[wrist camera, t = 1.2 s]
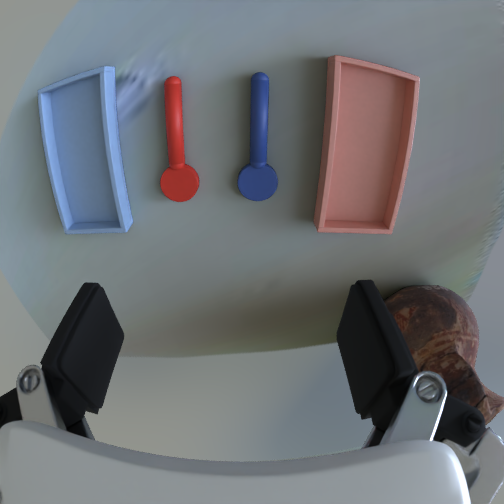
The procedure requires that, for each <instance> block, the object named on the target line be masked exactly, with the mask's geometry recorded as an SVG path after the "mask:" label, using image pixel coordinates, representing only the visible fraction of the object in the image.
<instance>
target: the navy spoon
mask: <svg viewBox="0 0 504 504" xmlns="http://www.w3.org/2000/svg"><path fill="white" fill-rule="evenodd" d="M268 98H269V78H268V76H267V75H266V74H265V73H262V72H258V73H255V74H254V75H253V76H252V78H251V122H250V163H249V164H247V165H246V166H244V167H243V168H242V170H241V171H240V173H239V176H238V188H239V190H240V192H241V193H242V195H243V196H245V197H246V198H248V199H250V200H253V201H262V200H265V199H268V198H269V197H271V196H272V195H273V194H274V192H275V191H276V189H277V185H278V179H277V176H276V173H275V171H274V169H273V168H272V167H271V166H269V165H268V164H266V161H267V132H268Z"/></svg>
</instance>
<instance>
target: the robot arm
mask: <svg viewBox="0 0 504 504" xmlns="http://www.w3.org/2000/svg"><path fill="white" fill-rule="evenodd" d="M123 340H124V333H123V330H122V328H121V326H120V324H119V322H118V320H117V318H116V316H115V314H114V311H113V309H112V307H111V305H110V302H109V300H108V298H107V295H106V293H105V291H104V289H103V287H101V286H100V285H99V284H98V283H87V282H86V283H84V284H83V285H82V287H81V288H80V290H79V292H78V293H77V295H76V297H75V298H74V300H73V302H72V303H71V305H70V307H69V309H68V310H67V312H66V314H65V316H64V317H63V319H62V321H61V323H60V325H59V326H58V328H57V330H56V332H55V334H54V336H53V338H52V340H51V342H50V344H49V346H48V348H47V350H46V352H45V354H44V356H43V358H42V360H41V362H40V363H41V364H42V368H41V369H40V367H39V366H36V365H29V366H26V367H25V368H24V369H23V370H22V371H21V372H20V373H19V375H18V377H17V381H16V388H14V389H13V390H11V391H9V392H8V393H6V394H4V395H3V396H1V397H0V504H490V502H491V501H492V499H493V498H494V496H495V495H496V493H497V491H498V490H499V488H500V487H501V485H502V483H503V482H504V442H503V441H502V440H501V439H500V438H499V436H498V435H497V434H496V433H494V431H493V430H492V429H491V428H490V427H488V428H487V429H486V428H485V418H484V416H483V414H482V413H481V411H480V410H478V409H477V408H475V407H473V406H471V405H469V404H467V403H465V402H463V401H461V400H459V399H457V398H455V397H453V396H451V395H449V394H447V388H446V384H445V382H444V380H443V379H442V378H441V376H440V375H438V374H437V373H435V372H432V371H422V372H419V371H418V368H417V366H416V364H415V361H414V359H413V357H412V354H411V352H410V350H409V348H408V345H407V343H406V341H405V339H404V337H403V335H402V333H401V330H400V328H399V326H398V324H397V322H396V320H395V318H394V316H393V315H392V314H391V313H389V311H388V309H387V307H386V305H385V303H384V301H383V299H382V297H381V295H380V293H379V291H378V289H377V287H376V286H375V284H374V282H373V281H372V280H358V281H356V283H355V285H352V286H351V288H350V291H349V295H348V298H347V302H346V305H345V308H344V312H343V315H342V318H341V321H340V324H339V327H338V330H337V342H338V346H339V349H340V353H341V356H342V360H343V364H344V367H345V371H346V375H347V378H348V382H349V386H350V390H351V394H352V398H353V402H354V406H355V410H356V412H357V413H358V414H361V419H367V418H372V422H373V425H374V426H373V428H372V430H371V432H370V434H369V435H368V437H367V439H366V441H365V443H364V444H363V446H362V448H361V449H359V450H354V451H349V452H344V453H338V454H332V455H325V456H318V457H311V458H303V459H293V460H280V461H260V462H227V461H206V460H194V459H184V458H176V457H169V456H162V455H156V454H150V453H145V452H139V451H134V450H130V449H125V448H121V447H117V446H113V445H109V444H106V443H102V442H99V441H96V440H95V438H94V436H93V434H92V432H91V430H90V428H89V425H88V423H87V421H86V418H85V416H84V415H85V412H86V411H88V412H91V413H95V414H98V411H99V408H101V407H102V406H103V403H104V399H105V396H106V392H107V389H108V386H109V383H110V379H111V376H112V373H113V370H114V367H115V364H116V361H117V358H118V355H119V352H120V349H121V346H122V343H123Z"/></svg>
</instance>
